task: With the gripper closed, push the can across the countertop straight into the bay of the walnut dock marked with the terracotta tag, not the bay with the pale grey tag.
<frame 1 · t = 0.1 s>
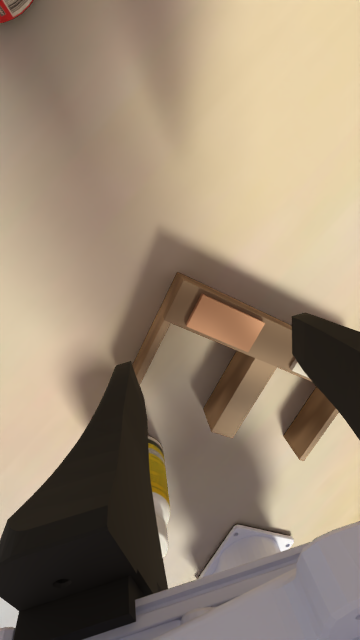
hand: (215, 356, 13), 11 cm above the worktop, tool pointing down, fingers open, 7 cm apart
tag dock: (231, 380, 26), on the worktop
supplement bottle: (137, 452, 27), on the worktop
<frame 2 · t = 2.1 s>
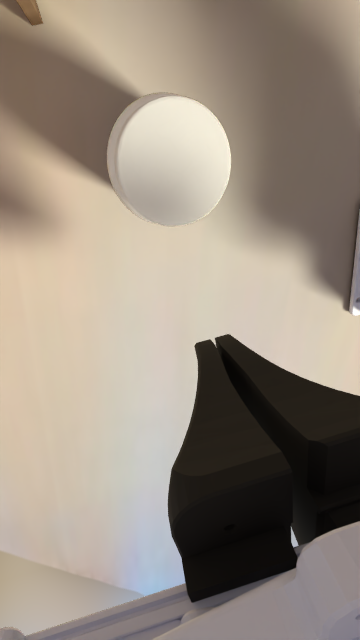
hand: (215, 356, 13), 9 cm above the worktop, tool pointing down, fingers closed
supplement bottle: (150, 161, 17), on the worktop
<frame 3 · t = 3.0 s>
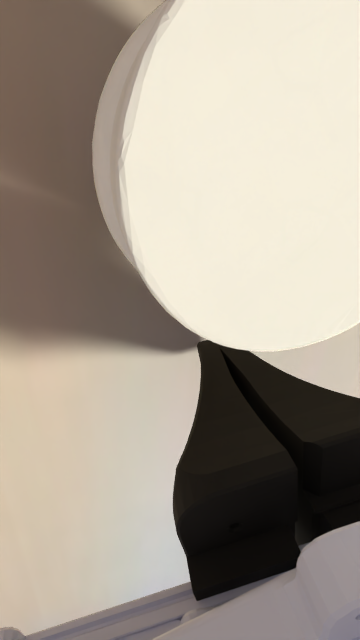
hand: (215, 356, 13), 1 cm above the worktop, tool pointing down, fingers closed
supplement bottle: (174, 165, 10), on the worktop
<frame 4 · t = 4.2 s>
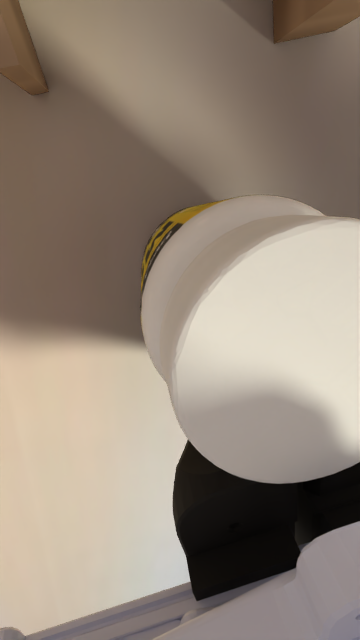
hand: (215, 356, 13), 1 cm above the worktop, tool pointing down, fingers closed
supplement bottle: (199, 269, 12), on the worktop
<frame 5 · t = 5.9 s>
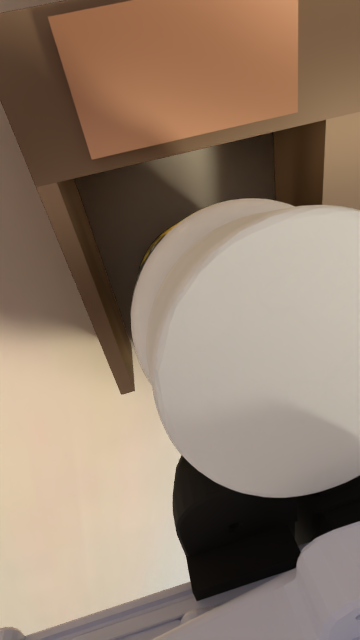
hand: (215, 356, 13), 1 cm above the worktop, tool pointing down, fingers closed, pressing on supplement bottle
tag dock: (299, 224, 12), on the worktop
supplement bottle: (196, 284, 12), on the worktop, touching gripper
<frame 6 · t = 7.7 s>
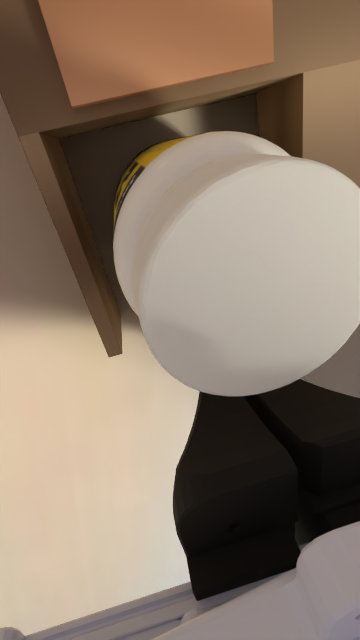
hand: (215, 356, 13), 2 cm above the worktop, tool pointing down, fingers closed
tag dock: (285, 192, 12), on the worktop
supplement bottle: (173, 210, 12), on the worktop
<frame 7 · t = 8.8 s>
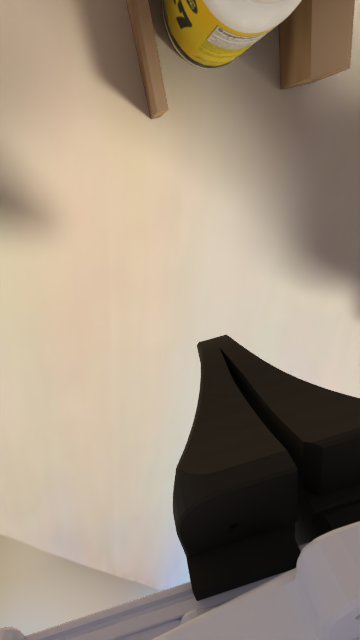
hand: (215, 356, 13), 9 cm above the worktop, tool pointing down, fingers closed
supplement bottle: (206, 11, 15), on the worktop
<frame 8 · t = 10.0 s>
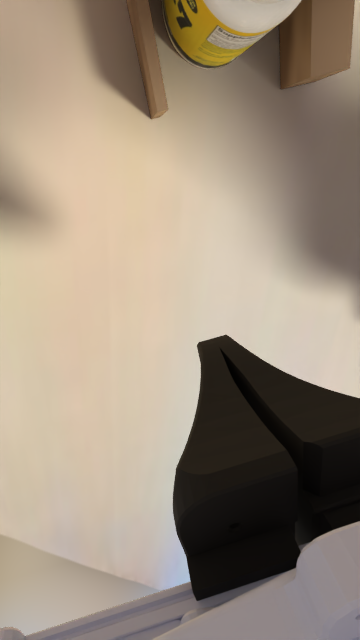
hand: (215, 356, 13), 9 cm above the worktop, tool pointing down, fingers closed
supplement bottle: (206, 11, 15), on the worktop
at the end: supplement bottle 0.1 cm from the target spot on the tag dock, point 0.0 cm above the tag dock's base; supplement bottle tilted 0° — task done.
